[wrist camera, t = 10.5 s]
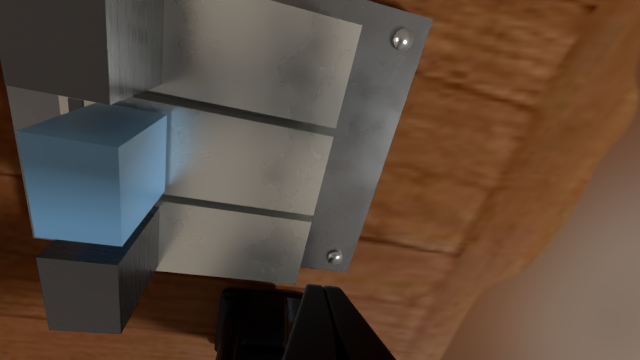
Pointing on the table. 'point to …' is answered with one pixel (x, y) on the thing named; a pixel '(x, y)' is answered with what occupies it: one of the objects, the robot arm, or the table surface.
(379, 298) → the table surface
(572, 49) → the table surface
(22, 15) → the breaker board
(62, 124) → the blue toggle
